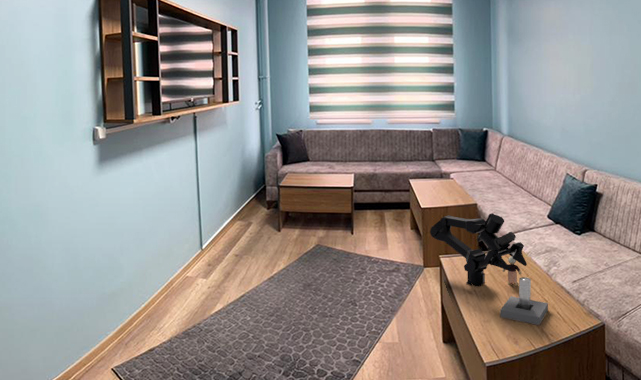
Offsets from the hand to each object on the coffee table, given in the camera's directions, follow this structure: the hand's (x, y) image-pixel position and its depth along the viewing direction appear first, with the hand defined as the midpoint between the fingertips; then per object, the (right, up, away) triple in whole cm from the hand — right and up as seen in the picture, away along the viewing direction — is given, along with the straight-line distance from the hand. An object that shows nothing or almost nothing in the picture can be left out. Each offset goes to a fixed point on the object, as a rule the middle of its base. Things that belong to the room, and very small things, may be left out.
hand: (518, 267), depth 206 cm
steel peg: (-1, -16, -9) cm, 19 cm away
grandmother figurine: (+4, -10, +19) cm, 22 cm away
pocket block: (-1, -16, -9) cm, 19 cm away
